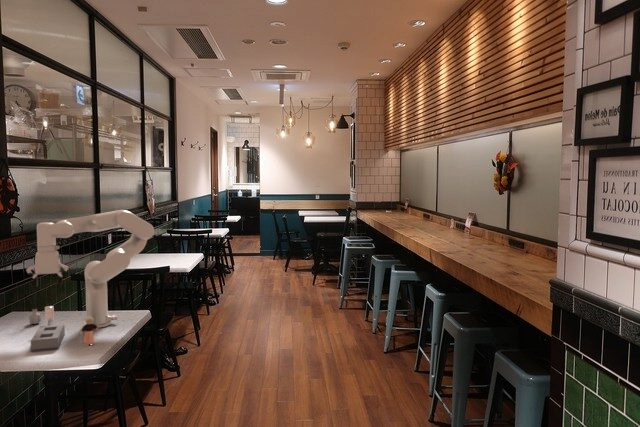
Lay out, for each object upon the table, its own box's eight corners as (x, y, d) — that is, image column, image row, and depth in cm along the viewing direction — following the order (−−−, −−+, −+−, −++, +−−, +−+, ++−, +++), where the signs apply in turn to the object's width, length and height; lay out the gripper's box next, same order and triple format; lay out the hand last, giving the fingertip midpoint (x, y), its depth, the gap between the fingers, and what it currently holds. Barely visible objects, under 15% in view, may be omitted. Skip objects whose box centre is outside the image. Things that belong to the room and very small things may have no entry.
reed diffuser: (43, 324, 241) (41, 284, 240) (26, 327, 237) (25, 286, 235) (38, 320, 249) (36, 281, 247) (22, 322, 244) (21, 283, 243)
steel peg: (54, 330, 233) (54, 305, 232) (53, 332, 229) (52, 307, 229) (46, 331, 232) (45, 306, 231) (45, 333, 228) (44, 308, 227)
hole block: (64, 334, 226) (64, 324, 226) (58, 349, 208) (58, 337, 207) (40, 337, 223) (39, 326, 223) (31, 352, 204) (30, 340, 204)
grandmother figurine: (84, 348, 210) (83, 318, 209) (79, 346, 212) (78, 317, 211) (100, 343, 216) (100, 314, 215) (95, 341, 218) (94, 313, 217)
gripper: (68, 247, 234) (70, 282, 235) (27, 248, 228) (28, 285, 229) (66, 249, 227) (68, 285, 228) (23, 251, 221) (25, 288, 222)
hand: (48, 285), depth 229 cm, fingers open, 9 cm apart
